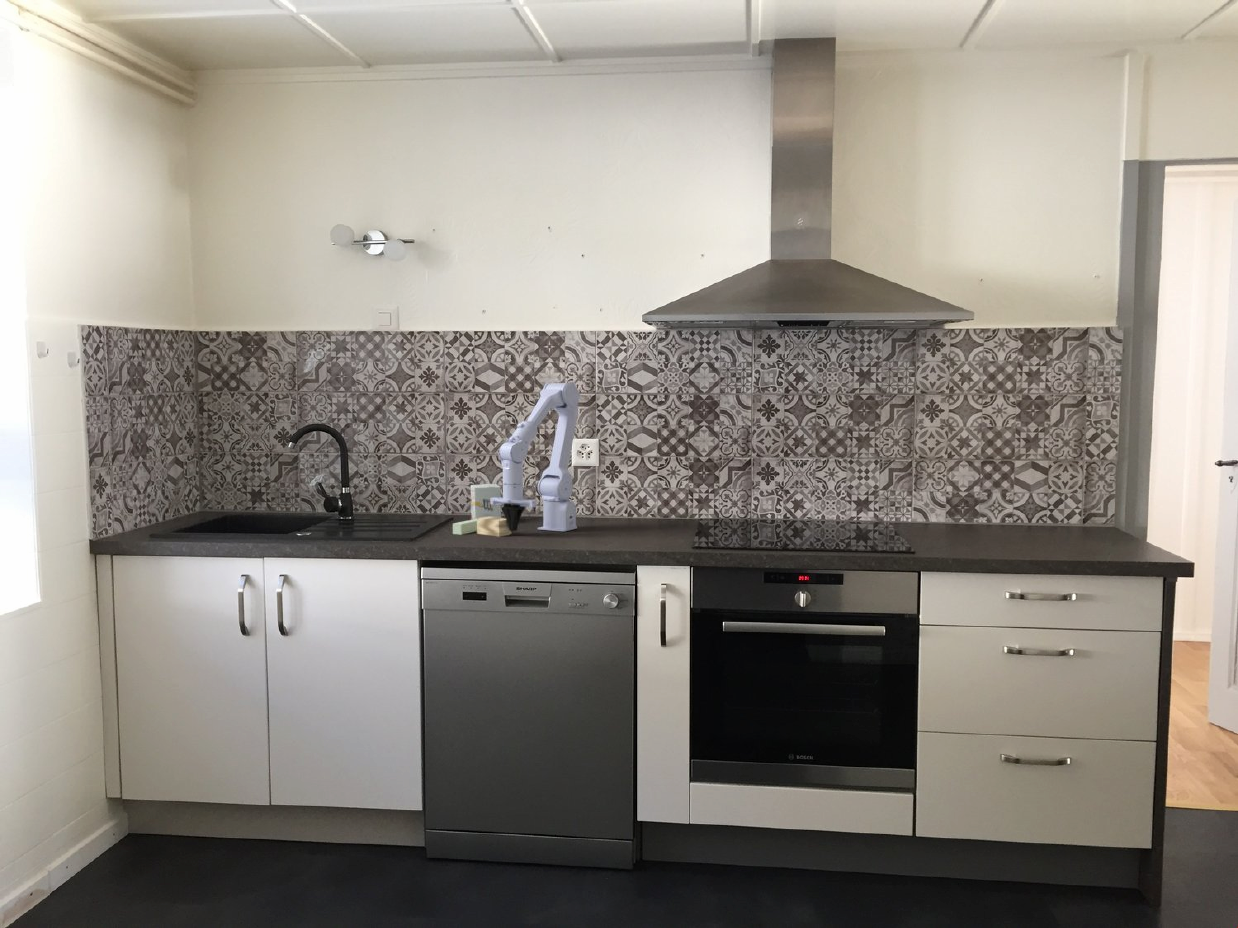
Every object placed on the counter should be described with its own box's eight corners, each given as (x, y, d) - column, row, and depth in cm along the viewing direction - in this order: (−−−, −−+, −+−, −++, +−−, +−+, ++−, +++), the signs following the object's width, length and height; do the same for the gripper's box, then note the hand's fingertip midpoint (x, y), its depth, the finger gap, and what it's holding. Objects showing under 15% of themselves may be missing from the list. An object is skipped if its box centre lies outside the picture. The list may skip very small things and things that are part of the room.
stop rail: (489, 528, 298) (489, 518, 298) (461, 534, 286) (461, 524, 285) (481, 527, 299) (481, 517, 299) (452, 533, 287) (452, 523, 287)
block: (511, 534, 286) (511, 519, 286) (499, 536, 282) (498, 521, 282) (489, 531, 292) (489, 516, 291) (477, 533, 288) (476, 518, 287)
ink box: (470, 520, 314) (469, 484, 313) (496, 519, 316) (496, 483, 315) (474, 524, 305) (474, 486, 304) (501, 523, 308) (501, 486, 307)
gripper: (484, 483, 283) (484, 530, 284) (526, 486, 276) (526, 534, 277) (498, 481, 289) (498, 527, 290) (539, 484, 282) (540, 530, 283)
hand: (513, 530), depth 284 cm, fingers closed
